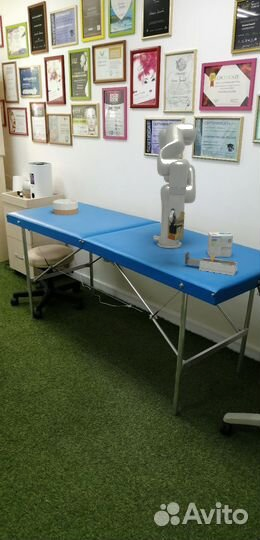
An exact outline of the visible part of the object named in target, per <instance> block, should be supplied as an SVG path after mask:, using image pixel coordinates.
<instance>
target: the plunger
mask: <svg viewBox="0 0 260 540" xmlns="http://www.w3.org/2000/svg"><path fill="white" fill-rule="evenodd" d="M184 254H185V255H184V265H191V266H198V267H200V261H207V262H215V261H214V259H216V257H215V255H214V254H213V255H212V256H211V257H210V258H211V261H209V260H203V258H202V259H201V258H194V257H190V254H191V253H190V251H187V252H186V253H184Z"/></svg>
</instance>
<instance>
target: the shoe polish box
mask: <svg viewBox="0 0 260 540" xmlns="http://www.w3.org/2000/svg"><path fill="white" fill-rule="evenodd" d="M185 213H186V212H185V211H184V212H181V214H180V217H179V218H178V219H177V223H176V225H177V233H176V234H170V233H169V223H170V222H169V221H170V220H169V218H168V235H167V238H169V239H172V240H175V241H176V240H179V241H180V240H184V230H185V229H184V228H185ZM173 218H176V216H175V217H173ZM173 220H174V221H175V219H173Z"/></svg>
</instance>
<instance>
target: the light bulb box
mask: <svg viewBox="0 0 260 540" xmlns="http://www.w3.org/2000/svg"><path fill="white" fill-rule="evenodd" d="M233 238H234V235H233V234H232V233H231V232H230V231H228V232H227V231H226V232H225V231H224V232H222V231H221V232H219V231H217V232H215V231H214V232H208V236H207V251H206V252H207V253H206V254H207V255H208V256H209V257H208V258H211V256H212V255H213V254H214V255H215V258H225V257H227V258H230V257H232V249H233V240H234V239H233Z"/></svg>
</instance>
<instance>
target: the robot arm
mask: <svg viewBox="0 0 260 540" xmlns="http://www.w3.org/2000/svg"><path fill="white" fill-rule="evenodd" d="M157 136H158V147H159V149H160V150H159V151H158V153H157V157H156V158H157V159H156V170H157V173H158V175H159V176H160V177H163V181H164V182H165V183H166V184H164V185H162V186H161V188H160V191H159V192H160V193H159V194H160V201H161V203H160V204H161V205H160V206H161V217H160V218H161V221H160V235H153V237H152V238H153V241H157V246H158V247H160V248H162V249H178V248H181V247H182V242H181V241H180V240H176V241H175V240H172V239H169V238H167V235H168V218H169V220H170V221H169V222H170V223H169V233H170V234H176V233H177V225H176V223H177V219H178V218H179V217H180V214H181V212H185V204H192V203H194V202H195V200H196V195H197V194H196V193H197V192H196V191H197V190H196V188H197V187H196V186H197V185H196V169H195V167H194V166H193V165H192V164H191V163H190V162H189V160H188V159H186V158H181V157H180V155H181V154H182V153H183V152H184V151H185V149H186V147H187V146H191V145H193V144H194V142H195V141H196V137H197V129H196V126H195V124H193V123H188V122H187V123H179V122H177V123H175V122H174V123H170V124H169V125H167V126H166V127H165V128H161V129H160V130H159V132H158V135H157ZM175 216H176V218H173V217H175ZM173 219H175V221H174V220H173Z"/></svg>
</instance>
